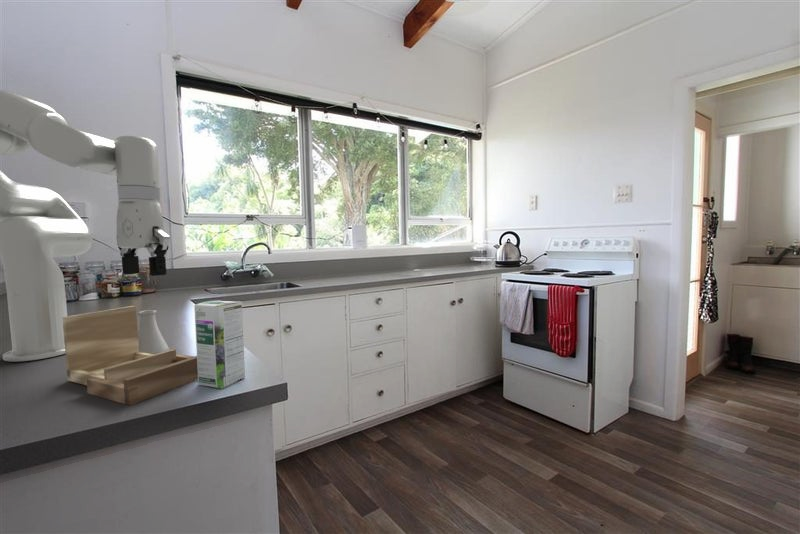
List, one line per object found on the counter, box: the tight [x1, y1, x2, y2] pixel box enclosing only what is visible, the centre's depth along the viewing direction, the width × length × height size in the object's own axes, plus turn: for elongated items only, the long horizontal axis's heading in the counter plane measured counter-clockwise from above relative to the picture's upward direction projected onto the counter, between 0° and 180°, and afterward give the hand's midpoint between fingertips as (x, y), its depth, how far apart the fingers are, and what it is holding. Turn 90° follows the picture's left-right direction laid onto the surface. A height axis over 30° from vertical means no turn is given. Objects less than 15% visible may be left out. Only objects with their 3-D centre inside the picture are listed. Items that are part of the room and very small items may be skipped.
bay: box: [86, 352, 198, 407], centre depth 66 cm, size 12×15×4 cm
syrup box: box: [194, 300, 246, 390], centre depth 66 cm, size 6×6×14 cm
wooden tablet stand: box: [62, 305, 177, 386], centre depth 70 cm, size 13×12×12 cm
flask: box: [137, 309, 171, 354], centre depth 83 cm, size 7×7×10 cm
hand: (144, 274), depth 81 cm, fingers open, 9 cm apart
